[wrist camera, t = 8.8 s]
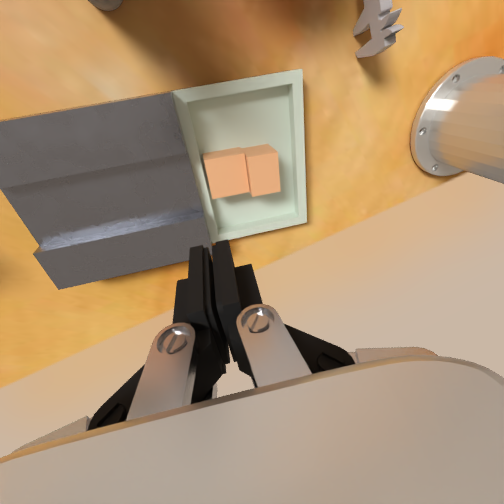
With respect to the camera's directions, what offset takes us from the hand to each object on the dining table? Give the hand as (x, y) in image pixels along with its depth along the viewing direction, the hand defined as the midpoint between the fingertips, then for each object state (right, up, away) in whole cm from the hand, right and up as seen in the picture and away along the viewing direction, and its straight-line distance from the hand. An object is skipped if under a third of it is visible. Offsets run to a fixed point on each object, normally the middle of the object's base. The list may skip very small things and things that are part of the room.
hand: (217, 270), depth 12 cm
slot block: (-13, +8, +17) cm, 23 cm away
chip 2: (+1, +9, +16) cm, 19 cm away
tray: (+1, +11, +18) cm, 21 cm away
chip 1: (-1, +10, +18) cm, 20 cm away
